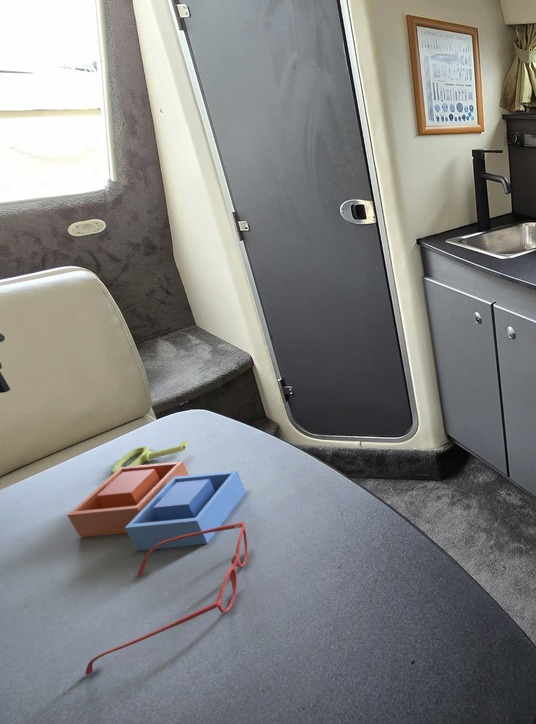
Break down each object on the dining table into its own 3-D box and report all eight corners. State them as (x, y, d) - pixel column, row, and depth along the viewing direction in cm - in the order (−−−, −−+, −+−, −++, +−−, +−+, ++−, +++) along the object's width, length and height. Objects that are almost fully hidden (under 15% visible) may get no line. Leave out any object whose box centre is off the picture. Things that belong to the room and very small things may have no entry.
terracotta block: (109, 520, 85) (96, 495, 83) (134, 495, 90) (122, 471, 88) (143, 516, 85) (130, 492, 83) (166, 492, 91) (154, 468, 89)
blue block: (165, 532, 82) (152, 507, 80) (187, 506, 87) (176, 482, 85) (199, 528, 83) (188, 504, 80) (220, 502, 88) (209, 479, 86)
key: (189, 454, 101) (185, 446, 100) (110, 480, 95) (105, 471, 94) (194, 434, 106) (190, 426, 106) (120, 458, 101) (115, 449, 100)
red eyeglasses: (230, 633, 67) (218, 608, 65) (80, 686, 62) (62, 661, 60) (260, 533, 82) (251, 510, 80) (141, 568, 77) (128, 545, 75)
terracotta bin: (80, 537, 83) (66, 515, 81) (131, 487, 93) (120, 466, 91) (148, 530, 83) (136, 508, 81) (192, 482, 93) (182, 461, 92)
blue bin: (137, 551, 80) (124, 527, 78) (183, 498, 90) (173, 476, 88) (207, 543, 80) (196, 520, 79) (246, 492, 91) (237, 470, 89)
